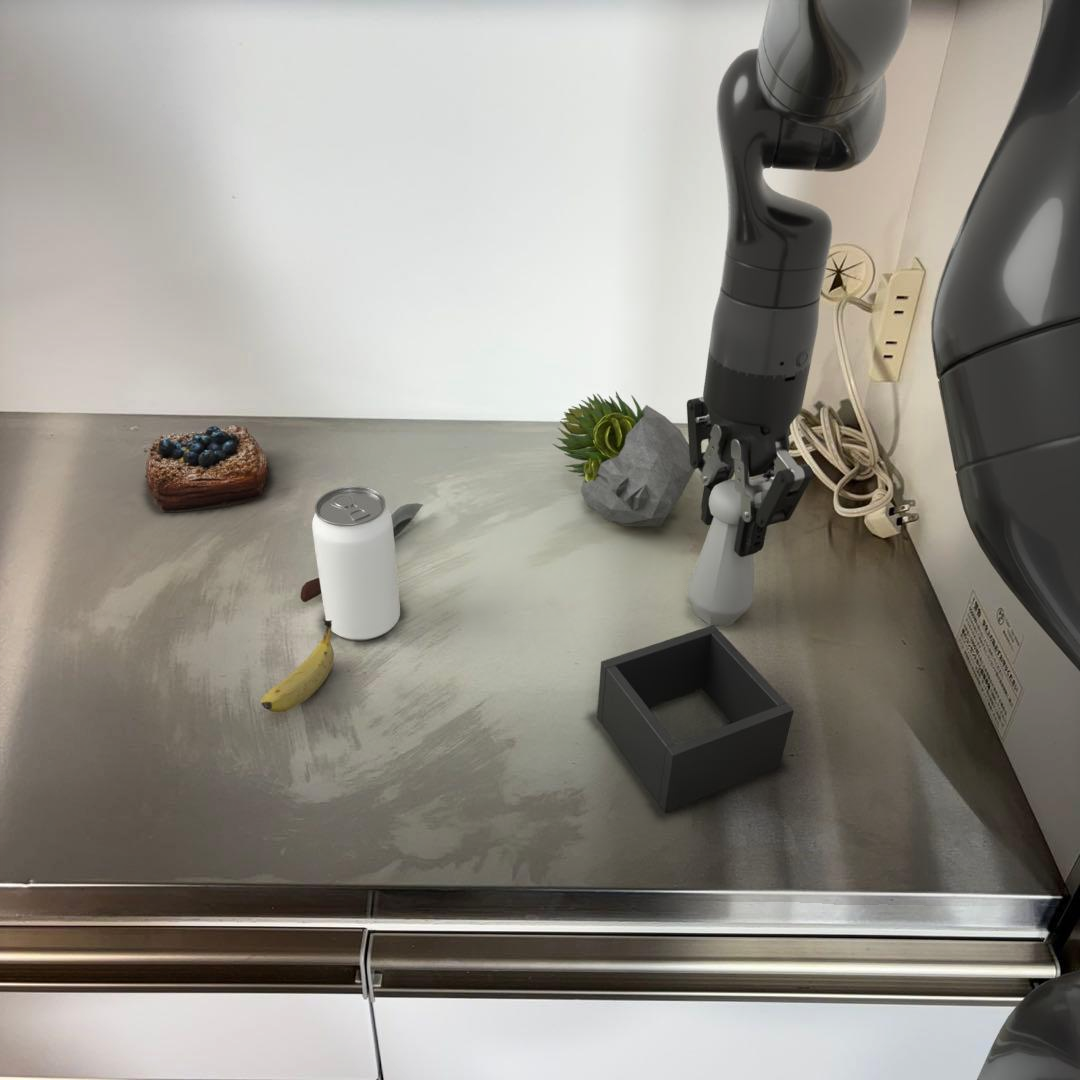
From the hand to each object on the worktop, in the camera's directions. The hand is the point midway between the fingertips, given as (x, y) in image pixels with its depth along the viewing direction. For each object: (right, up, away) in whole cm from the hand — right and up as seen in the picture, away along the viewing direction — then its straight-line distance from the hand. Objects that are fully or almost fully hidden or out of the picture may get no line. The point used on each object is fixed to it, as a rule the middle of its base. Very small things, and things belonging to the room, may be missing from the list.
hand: (729, 536), depth 82 cm
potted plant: (-8, +3, +18) cm, 20 cm away
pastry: (-51, +6, +21) cm, 55 cm away
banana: (-35, -13, -4) cm, 37 cm away
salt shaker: (0, -7, +5) cm, 8 cm away
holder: (-5, -16, -8) cm, 18 cm away
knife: (-32, -2, +10) cm, 34 cm away
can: (-31, -7, +3) cm, 32 cm away
